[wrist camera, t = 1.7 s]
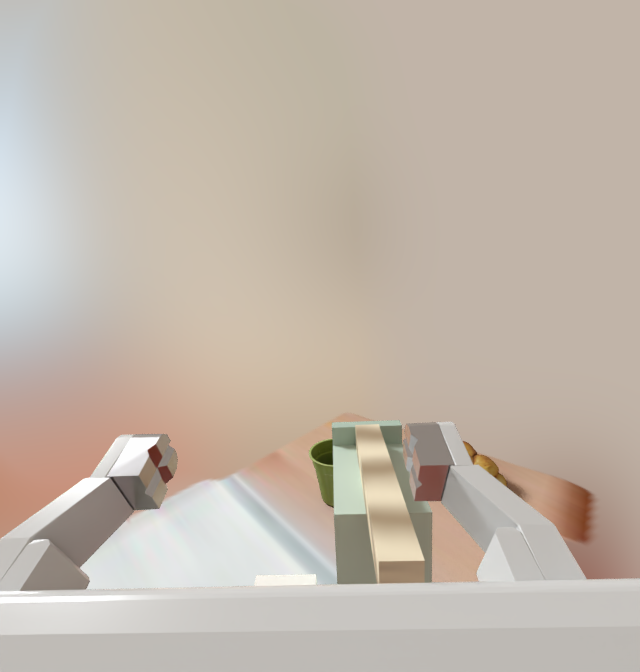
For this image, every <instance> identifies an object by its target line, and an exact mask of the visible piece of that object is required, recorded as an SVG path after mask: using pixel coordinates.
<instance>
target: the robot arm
mask: <svg viewBox="0 0 640 672" xmlns="http://www.w3.org/2000/svg"><path fill="white" fill-rule="evenodd" d="M404 432H405V436H406V439H405V440H403V457H404V462H405V467H406V469H407V470H408V471H409V472H410V480H409V483H410V487H411V490H412V494H413V498H414V501H441V503H442V504H443V505H444V506H445V507H446V509H447V510H448V511H449V512H450V513H451V514H452V515H453V516H454V518H455V519H456V520H457V521H458V522H459V523H460V524H461V526H462V527H463V528H464V529H465V530H466V531H467V532H468V534H469V535H470V536H471V537H472V538H473V539H474V540H475V542H476V543H477V544H478V545H479V546H480V547H481V548H482V550H483V551H484V552H485V556H484V558H483V560H482V562H481V564H480V566H479V569H478V571H477V573H476V574H477V577H478V580H479V582H433V583H382V584H331V585H281V586H232V587H183V588H134V589H86V588H87V586H88V584H89V582H90V580H89V577H88V576H87V575H86V574H85V573H84V572H83V571H82V570H81V569H80V567H81V566H82V565H83V564H84V563H85V562H86V561H87V560H88V559H89V558H90V557H91V556H92V555H93V554H94V553H95V552H96V550H97V549H98V548H99V547H100V546H101V545H102V544H103V543H104V542H105V541H106V540H107V539H108V538H109V537H110V536H111V535H112V534H113V533H114V532H115V531H116V530H117V529H118V528H119V527H120V526H121V525H122V524H123V523H124V522H125V521H126V520H127V519H128V517H129V516H130V515H131V514H132V513H133V512H134V511H133V510H148V509H159V508H160V506H161V504H162V501H163V499H164V497H165V494H166V492H167V490H168V489H167V485H166V483H167V482H168V481H169V480H170V479H172V478H173V476H174V474H175V471H176V468H177V462H178V459H177V453H176V451H175V449H174V448H172V447H170V446H169V443H170V439H169V437H168V435H167V434H135V435H121V436H119V437H118V438H117V439H116V440H115V442H114V443H113V444H112V446H111V447H110V449H109V450H108V452H107V453H106V455H105V456H104V458H103V459H102V460H101V462H100V463H99V465H98V466H97V468H96V469H95V471H94V472H93V473H92V475H91V476H90V478H85V479H83V480H82V481H80V482H79V483H78V484H77V485H75V486H74V487H72V488H71V489H69V490H68V491H66V492H65V493H64V494H62V495H61V496H60V497H58V498H57V499H55V500H54V501H53V502H51V503H50V504H48V505H47V506H46V507H44V508H43V509H41V510H40V511H38V512H37V513H36V514H35V515H33V516H31V517H30V518H29V519H27V520H26V521H25V522H24V523H22V524H20V525H19V526H18V527H16V528H15V529H14V530H12V531H11V532H9V533H8V534H6V535H5V536H4V537H2V538H1V539H0V672H640V578H636V579H589V580H587V579H586V577H585V576H584V574H583V572H582V571H581V569H580V568H579V566H578V564H577V562H576V561H575V559H574V557H573V556H572V554H571V552H570V550H569V549H568V547H567V545H566V544H565V542H564V540H563V539H562V537H561V535H560V534H559V532H558V530H557V528H556V527H555V525H554V524H553V523H551V522H550V521H549V520H548V519H546V518H545V517H544V516H543V515H541V514H540V513H539V512H537V511H536V510H535V509H534V508H532V507H531V506H530V505H529V504H527V503H526V502H525V501H524V500H522V499H521V498H520V497H519V496H517V495H516V494H515V493H513V492H512V491H511V490H510V489H508V488H507V487H506V486H505V485H503V484H502V483H501V482H500V481H498V480H497V479H496V478H495V477H493V476H492V475H491V474H489V473H488V472H487V471H486V470H484V469H483V468H482V467H481V466H479V465H473V462H472V460H471V458H470V456H469V454H468V452H467V450H466V447H465V445H464V443H463V441H462V439H461V437H460V435H459V432H458V430H457V428H456V426H455V424H454V423H453V422H439V423H438V422H437V423H436V422H432V423H414V424H406V426H405V431H404Z"/></svg>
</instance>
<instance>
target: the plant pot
mask: <svg viewBox="0 0 640 672" xmlns="http://www.w3.org/2000/svg"><path fill="white" fill-rule="evenodd" d="M309 456H310V458H311V460H312V461H313V464H314V467H315V469H316V473H317V478H318V482H319V486H320V490H321V495H322V499H323V501H324V502H325V503H326V504H328V505H330V506H334V483H333V439H327V440H323V441H320V442H318V443H316V444H314V445H313V446H312V447H311V448H310V450H309Z"/></svg>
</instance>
